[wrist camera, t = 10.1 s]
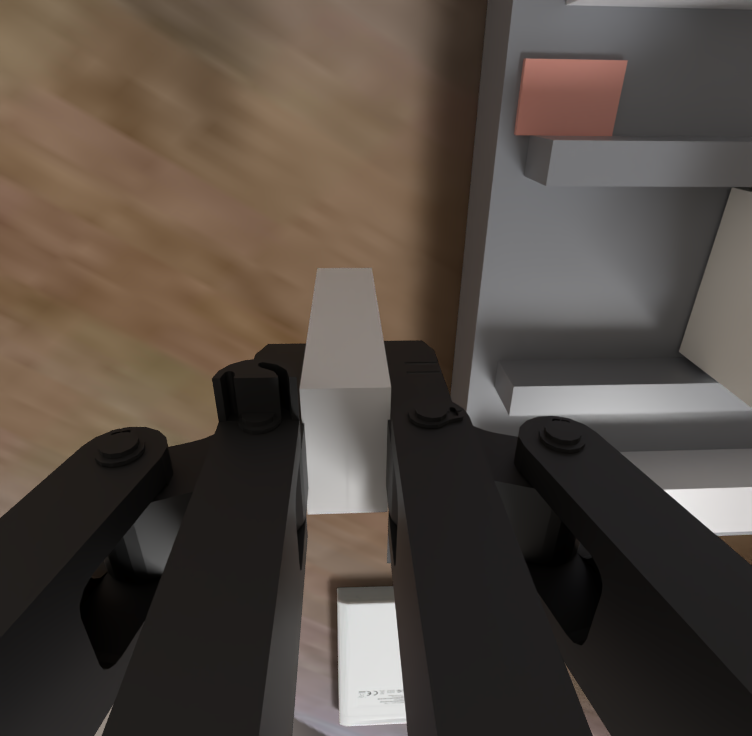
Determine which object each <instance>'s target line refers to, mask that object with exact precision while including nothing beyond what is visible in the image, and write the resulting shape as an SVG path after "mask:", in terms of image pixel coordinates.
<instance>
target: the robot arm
mask: <svg viewBox="0 0 752 736" xmlns="http://www.w3.org/2000/svg"><path fill="white" fill-rule="evenodd" d="M212 382H213V388H214V394H215V400H216V407H217V413H218V419H219V423H218V426H217V429H216V431H215V434H214V435H211V436H209V437H207V438H204V439H201V440H197V441H194V442H190V443H185V444H180V445H176V446H171V447H168V444H167V439H166V437H165V436H164V435H163V434H162V433H161V432H160V431H158V430H154V429H151V428H147V427H127V428H122V429H116V430H112V431H110V432H108V433H105V434H103V435H100V436H98V437H95V438H94V439H92V440H91V441H89V442H88V443H86V444H85V445H83V446H82V447H81V448H80V449H79V450H77V451H76V452H75V453H74V454H73V455H72V456H71V457H69V458H68V459H67V460H66V461H65V462H64V463H63V464H61V465H60V466H59V467H58V468H57V469H56V470H55V471H53V472H52V473H51V474H50V475H49V476H48V477H47V478H45V479H44V480H43V481H42V482H41V483H40V484H39V485H37V486H36V487H35V488H34V489H33V490H32V491H31V492H29V493H28V494H27V495H26V496H25V497H24V498H23V499H21V500H20V501H19V502H18V503H17V504H16V505H15V506H14V507H12V508H11V509H10V510H9V511H8V512H7V513H6V514H4V515H3V516H2V517H1V518H0V736H94V735H95V734H96V732H97V730H98V728H99V727H100V725H101V724H102V722H103V720H104V719H105V717H106V715H107V714H108V712H109V710H110V709H111V707H112V705H113V707H112V710H111V713H110V715H109V718H108V721H107V723H106V726H105V728H104V731H103V734H102V736H292V731H293V719H294V706H295V693H296V680H297V667H298V654H299V641H300V628H301V615H302V602H303V589H304V577H305V564H306V551H307V538H308V534H307V520H306V511H307V508H308V514H335V513H367V512H387V508H389V519H388V550H387V563H391V568H392V578H393V589H394V599H395V609H396V619H397V630H398V640H399V650H400V660H401V670H402V681H403V691H404V701H405V711H406V721H407V732H408V736H593V735H592V733H591V730H590V728H589V725H588V722H587V720H586V717H585V715H584V712H583V709H582V707H581V704H580V702H579V699H578V697H577V694H576V691H575V689H574V686H573V684H572V681H571V678H570V676H569V673H568V671H567V668H566V666H567V667H568V669H569V670H570V672H571V673H572V675H573V676H574V678H575V680H576V681H577V683H578V684H579V686H580V687H581V689H582V691H583V692H584V694H585V695H586V697H587V698H588V700H589V702H590V703H591V705H592V706H593V708H594V709H595V711H596V713H597V714H598V716H599V717H600V719H601V720H602V722H603V723H604V725H605V727H606V728H607V730H608V731H609V733H610V734H611V736H752V565H750V564H749V563H748V562H747V561H746V560H745V559H743V558H742V557H741V556H740V555H739V554H738V553H736V552H735V551H734V550H733V549H732V548H731V547H729V546H728V545H727V544H726V543H725V542H724V541H723V540H721V539H720V538H719V537H718V536H717V535H716V534H714V533H713V532H712V531H711V530H710V529H709V528H707V527H706V526H705V525H704V524H703V523H702V522H700V521H699V520H698V519H697V518H696V517H695V516H693V515H692V514H691V513H690V512H689V511H688V510H686V509H685V508H684V507H683V506H682V505H681V504H679V503H678V502H677V501H676V500H675V499H674V498H672V497H671V496H670V495H669V494H668V493H667V492H665V491H664V490H663V489H662V488H661V487H660V486H658V485H657V484H656V483H655V482H654V481H653V480H652V479H650V478H649V477H648V476H647V475H646V474H645V473H643V472H642V471H641V470H640V469H639V468H638V467H636V466H635V465H634V464H633V463H632V462H631V461H629V460H628V459H627V458H626V457H625V456H624V455H622V454H621V453H620V452H619V451H618V450H617V449H615V448H614V447H613V446H612V445H611V444H610V443H608V442H607V441H606V440H605V439H604V438H603V437H601V436H600V435H599V434H598V433H597V432H595V431H594V430H592V429H591V428H589V427H588V426H586V425H585V424H582V423H579V422H577V421H574V420H571V419H569V418H565V417H559V416H539V417H535V418H532V419H529V420H526V421H525V422H524V423H523V424H522V425H521V426H520V428H519V434H518V437H516V436H511V435H505V434H499V433H494V432H490V431H486V430H483V429H480V428H478V427H475V426H473V424H472V422H471V419H470V416H469V415H468V414H467V412H466V411H465V410H464V408H462V407H460V406H459V405H457V404H456V403H454V402H452V400H451V397H450V394H449V391H448V388H447V385H446V383H445V380H444V377H443V374H442V373H441V368H440V366H439V364H438V360H437V357H436V354H435V351H434V350H433V349H432V348H431V347H429V346H428V345H427V344H426V343H424V342H423V341H422V340H420V341H384V340H383V334H382V328H381V322H380V316H379V310H378V303H377V297H376V291H375V285H374V279H373V273H372V268H317V275H316V281H315V288H314V295H313V302H312V308H311V315H310V322H309V328H308V335H307V342H306V344H268V345H266V346H265V347H264V348H263V349H262V350H260V351H259V352H258V353H257V354H256V355H255V357H254V359H253V360H244V361H241V362H237V363H234V364H230V365H228V366H227V367H225V368H223V369H221V370H219V371H218V372H217V373H216V375H215V376H214V377H213V378H212ZM564 662H565V663H564ZM565 664H566V665H565Z"/></svg>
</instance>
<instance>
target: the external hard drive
mask: <svg viewBox="0 0 752 736" xmlns="http://www.w3.org/2000/svg"><path fill="white" fill-rule="evenodd" d="M337 624H338V689H339V723H340V724H341V725H344V726H363V725H381V724H404V723H407V721H406V711H405V701H404V691H403V681H402V670H401V660H400V650H399V640H398V630H397V619H396V609H395V599H394V589H393V586H379V587H343V588H337Z"/></svg>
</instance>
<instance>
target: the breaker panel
mask: <svg viewBox="0 0 752 736" xmlns="http://www.w3.org/2000/svg"><path fill="white" fill-rule="evenodd" d="M732 187H752V0H488V4H487V14H486V25H485V35H484V46H483V57H482V67H481V78H480V88H479V99H478V110H477V120H476V131H475V141H474V152H473V163H472V173H471V184H470V194H469V205H468V216H467V226H466V237H465V247H464V258H463V269H462V279H461V290H460V300H459V311H458V322H457V332H456V343H455V354H454V364H453V375H452V385H451V396H450V397H451V400H452V402H454V403H456V404H457V405H459V406H460V407H462V408H464V410H465V411H466V412H467V414H468V415H469V416H470V419H471V422H472V424H473V426H475V427H478V428H480V429H483V430H486V431H490V432H494V433H499V434H505V435H511V436H516V437H518V434H519V428H520V426H521V425H522V424H523V423H524V422H525V421H526V420H529V419H532V418H535V417H539V416H559V417H565V418H569V419H571V420H574V421H577V422H579V423H582V424H585V425H586V426H588V427H589V428H591V429H592V430H594V431H595V432H597V433H598V434H599V435H600V436H601V437H603V438H604V439H605V440H606V441H607V442H608V443H610V444H611V445H612V446H613V447H614V448H615V449H617V450H618V451H619V452H620V453H621V454H622V455H624V456H625V457H626V458H627V459H628V460H629V461H631V462H632V463H633V464H634V465H635V466H636V467H638V468H639V469H640V470H641V471H642V472H643V473H645V474H646V475H647V476H648V477H649V478H650V479H652V480H653V481H654V482H655V483H656V484H657V485H658V486H660V487H661V488H662V489H663V490H664V491H665V492H667V493H668V494H669V495H670V496H671V497H672V498H674V499H675V500H676V501H677V502H678V503H679V504H681V505H682V506H683V507H684V508H685V509H686V510H688V511H689V512H690V513H691V514H692V515H693V516H695V517H696V518H697V519H698V520H699V521H700V522H702V523H703V524H704V525H705V526H706V527H707V528H709V529H710V530H711V531H712V532H713V533H714V534H716V535H717V536H726V535H752V408H751V407H750V406H748V405H747V404H746V403H745V402H743V401H742V400H741V399H739V398H738V397H737V396H736V395H734V394H733V393H732V392H730V391H729V390H728V389H726V388H725V387H724V386H723V385H721V384H720V383H719V382H717V381H716V380H715V379H713V378H712V377H711V376H710V375H708V374H707V373H706V372H704V371H703V370H702V369H700V368H699V367H698V366H697V365H695V364H694V363H693V362H691V361H690V360H689V359H687V358H686V357H685V356H684V355H682V354H681V353H680V352H679V349H680V346H681V343H682V340H683V337H684V334H685V331H686V328H687V325H688V321H689V318H690V315H691V312H692V309H693V306H694V303H695V300H696V297H697V294H698V291H699V287H700V284H701V281H702V278H703V275H704V272H705V269H706V266H707V263H708V260H709V257H710V253H711V250H712V247H713V244H714V241H715V238H716V235H717V232H718V229H719V226H720V223H721V219H722V216H723V213H724V210H725V207H726V204H727V201H728V198H729V195H730V192H731V189H732Z"/></svg>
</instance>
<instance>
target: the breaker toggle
mask: <svg viewBox="0 0 752 736" xmlns="http://www.w3.org/2000/svg"><path fill="white" fill-rule="evenodd" d="M679 352H680V353H681V354H682V355H684V356H685V357H686V358H687V359H689V360H690V361H691V362H693V363H694V364H695V365H697V366H698V367H699V368H700V369H702V370H703V371H704V372H706V373H707V374H708V375H710V376H711V377H712V378H713V379H715V380H716V381H717V382H719V383H720V384H721V385H723V386H724V387H725V388H726V389H728V390H729V391H730V392H732V393H733V394H734V395H736V396H737V397H738V398H739V399H741V400H742V401H743V402H745V403H746V404H747V405H748V406H750V407H751V408H752V187H732V189H731V192H730V195H729V198H728V201H727V204H726V207H725V210H724V213H723V216H722V219H721V223H720V226H719V229H718V232H717V235H716V238H715V241H714V244H713V247H712V250H711V253H710V257H709V260H708V263H707V266H706V269H705V272H704V275H703V278H702V281H701V284H700V287H699V291H698V294H697V297H696V300H695V303H694V306H693V309H692V312H691V315H690V318H689V321H688V325H687V328H686V331H685V334H684V337H683V340H682V343H681V346H680V349H679Z"/></svg>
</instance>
